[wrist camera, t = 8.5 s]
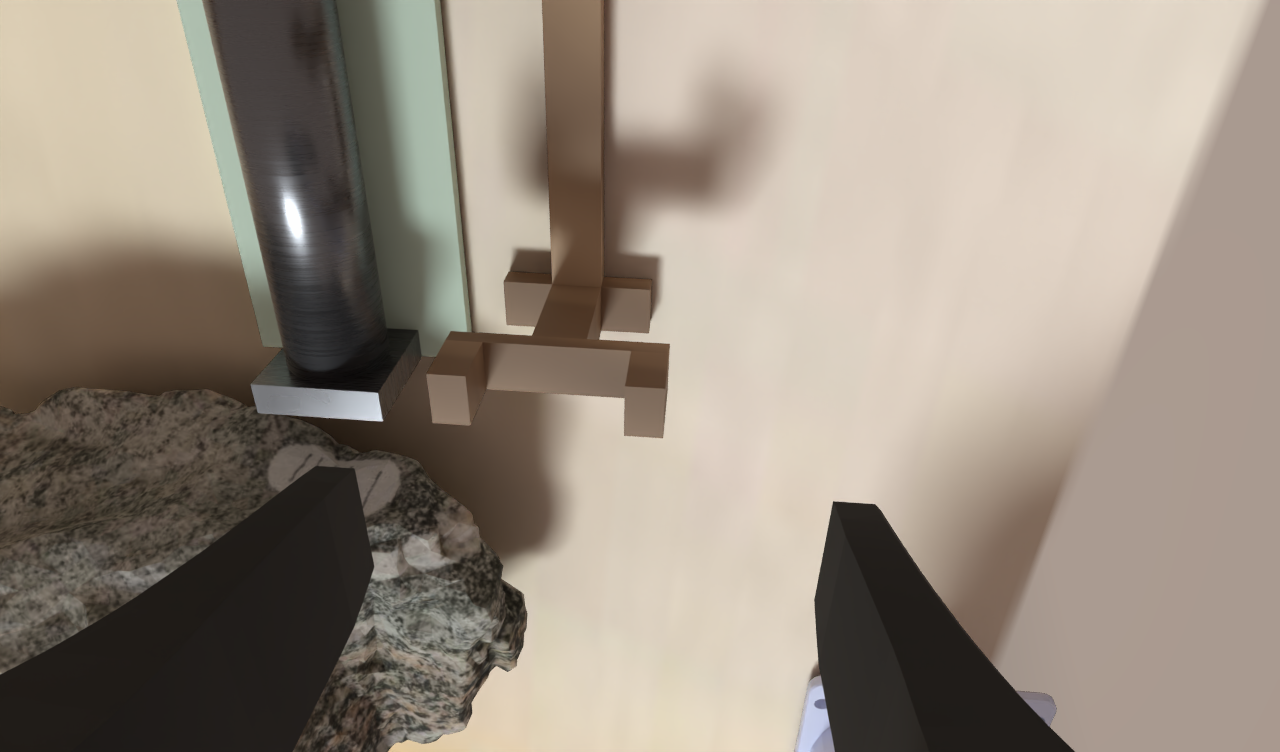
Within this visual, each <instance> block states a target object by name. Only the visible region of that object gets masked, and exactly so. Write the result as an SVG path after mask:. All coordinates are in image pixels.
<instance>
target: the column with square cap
mask: <svg viewBox="0 0 1280 752" xmlns="http://www.w3.org/2000/svg"><path fill="white" fill-rule="evenodd" d="M202 3H203V7H204V11H205V16H206V20H207V24H208V29H209V33H210V37H211V41H212V46H213V50H214V54H215V59H216V63H217V67H218V71H219V76H220V80H221V84H222V89H223V93H224V97H225V101H226V106H227V110H228V114H229V119H230V123H231V127H232V131H233V136H234V140H235V144H236V149H237V153H238V157H239V162H240V166H241V170H242V174H243V179H244V183H245V187H246V192H247V196H248V200H249V204H250V209H251V213H252V217H253V222H254V226H255V230H256V234H257V239H258V243H259V247H260V252H261V256H262V260H263V264H264V269H265V273H266V277H267V282H268V286H269V290H270V294H271V299H272V303H273V307H274V312H275V316H276V320H277V325H278V329H279V333H280V337H281V342H282V346H283V349H282V350H281V351H280V352H279V353H278V354H277V355H276V356H275V358H274V359H273V360H272V361H271V362H270V363H269V364H268V365H267V366H266V368H265V369H264V370H263V371H262V372H261V373H260V374H259V375H258V376H257V378H256V379H255V380H254V381H253V382H252V383H251V384H250V385H251V389H252V393H253V396H254V400H255V404H256V408H257V412H258V413H264V414H279V415H293V416H308V417H323V418H338V419H353V420H367V421H382V422H383V421H384V419H385V417H386V416H387V414H388V412H389V411H390V409H391V407H392V406H393V404H394V402H395V401H396V399H397V397H398V396H399V394H400V392H401V391H402V389H403V387H404V386H405V384H406V382H407V381H408V379H409V377H410V376H411V374H412V372H413V371H414V369H415V367H416V366H417V364H418V362H419V361H420V359H421V357H422V354H421V347H420V339H419V332H418V330H409V329H392V328H387V326H386V320H385V314H384V307H383V301H382V294H381V288H380V281H379V275H378V268H377V262H376V255H375V249H374V242H373V236H372V229H371V223H370V216H369V210H368V203H367V197H366V191H365V184H364V178H363V171H362V165H361V158H360V152H359V145H358V139H357V132H356V126H355V119H354V113H353V106H352V100H351V93H350V87H349V81H348V74H347V68H346V61H345V55H344V48H343V42H342V35H341V29H340V22H339V16H338V9H337V3H336V0H202Z"/></svg>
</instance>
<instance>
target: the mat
mask: <svg viewBox="0 0 1280 752" xmlns="http://www.w3.org/2000/svg"><path fill="white" fill-rule="evenodd" d="M336 3H337V9H338V16H339V22H340V29H341V35H342V42H343V48H344V55H345V61H346V68H347V74H348V81H349V87H350V93H351V100H352V106H353V113H354V119H355V126H356V132H357V139H358V145H359V152H360V158H361V165H362V171H363V178H364V184H365V191H366V197H367V203H368V210H369V216H370V223H371V229H372V236H373V242H374V249H375V255H376V262H377V268H378V275H379V281H380V288H381V294H382V301H383V307H384V314H385V320H386V326H387V328H392V329H409V330H418V332H419V339H420V347H421V354H422V356H426V357H436V356H437V354H438V352H439V350H440V349H441V347H442V345H443V343H444V342H445V340H446V338H447V336H448V335H449V333H450V331H459V332H472V329H471V319H470V308H469V298H468V287H467V277H466V266H465V256H464V245H463V235H462V224H461V214H460V204H459V193H458V183H457V172H456V162H455V151H454V141H453V130H452V120H451V109H450V99H449V89H448V78H447V68H446V57H445V47H444V36H443V26H442V15H441V5H440V0H336ZM177 4H178V8H179V12H180V16H181V20H182V24H183V28H184V32H185V36H186V40H187V44H188V48H189V52H190V56H191V60H192V64H193V68H194V72H195V76H196V80H197V84H198V88H199V92H200V96H201V100H202V104H203V108H204V112H205V116H206V120H207V124H208V128H209V132H210V136H211V140H212V144H213V148H214V152H215V156H216V160H217V164H218V168H219V172H220V176H221V180H222V184H223V188H224V192H225V196H226V200H227V204H228V208H229V212H230V216H231V220H232V224H233V228H234V232H235V236H236V240H237V244H238V248H239V252H240V256H241V260H242V264H243V268H244V272H245V276H246V280H247V284H248V288H249V292H250V296H251V300H252V304H253V308H254V312H255V316H256V320H257V324H258V328H259V332H260V336H261V340H262V344H263V347H279V348H283V346H282V342H281V337H280V333H279V329H278V325H277V320H276V316H275V312H274V307H273V303H272V299H271V294H270V290H269V286H268V282H267V277H266V273H265V269H264V264H263V260H262V256H261V252H260V247H259V243H258V239H257V234H256V230H255V226H254V222H253V217H252V213H251V209H250V204H249V200H248V196H247V192H246V187H245V183H244V179H243V174H242V170H241V166H240V162H239V157H238V153H237V149H236V144H235V140H234V136H233V131H232V127H231V123H230V119H229V114H228V110H227V106H226V101H225V97H224V93H223V89H222V84H221V80H220V76H219V71H218V67H217V63H216V59H215V54H214V50H213V46H212V41H211V37H210V33H209V29H208V24H207V20H206V16H205V11H204V7H203V3H202V0H177Z"/></svg>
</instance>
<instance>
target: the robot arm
mask: <svg viewBox="0 0 1280 752" xmlns="http://www.w3.org/2000/svg"><path fill="white" fill-rule="evenodd" d="M373 570H374V562H373V557H372V552H371V547H370V542H369V537H368V532H367V527H366V522H365V517H364V512H363V507H362V502H361V497H360V492H359V487H358V482H357V477H356V472H355V468H341V467H327V466H315V467H313V468H312V469H311V470H309V471H308V472H306V473H305V474H304V475H302V476H301V477H300V478H298V479H297V480H296V481H294V482H293V483H292V484H290V485H289V486H288V487H286V488H285V489H284V490H282V491H281V492H280V493H278V494H277V495H276V496H275V497H273V498H272V499H271V500H269V501H268V502H267V503H265V504H264V505H263V506H262V507H260V508H259V509H258V510H256V511H255V512H254V513H252V514H251V515H250V516H249V517H247V518H246V519H245V520H243V521H242V522H241V523H239V524H238V525H237V526H235V527H234V528H233V529H231V530H230V531H229V532H227V533H226V534H225V535H223V536H222V537H221V538H219V539H218V540H217V541H215V542H214V543H213V544H211V545H210V546H209V547H207V548H206V549H204V550H203V551H202V552H200V553H199V554H198V555H196V556H195V557H193V558H192V559H190V560H189V561H187V562H186V563H184V564H183V565H182V566H180V567H179V568H177V569H176V570H174V571H173V572H171V573H170V574H169V575H167V576H166V577H164V578H163V579H161V580H160V581H158V582H157V583H155V584H154V585H153V586H151V587H150V588H148V589H147V590H145V591H144V592H142V593H141V594H139V595H138V596H137V597H135V598H133V599H132V600H130V601H129V602H127V603H126V604H124V605H123V606H121V607H119V608H118V609H116V610H115V611H113V612H111V613H110V614H108V615H106V616H105V617H103V618H102V619H100V620H98V621H97V622H95V623H93V624H91V625H90V626H88V627H86V628H85V629H83V630H81V631H80V632H78V633H76V634H74V635H73V636H71V637H69V638H68V639H66V640H64V641H63V642H61V643H59V644H57V645H55V646H54V647H52V648H50V649H48V650H46V651H45V652H43V653H41V654H39V655H37V656H35V657H33V658H31V659H29V660H27V661H25V662H23V663H22V664H20V665H18V666H16V667H14V668H12V669H10V670H8V671H6V672H4V673H2V674H0V752H293V750H294V748H295V746H296V744H297V742H298V740H299V738H300V736H301V734H302V732H303V730H304V728H305V726H306V724H307V722H308V720H309V718H310V716H311V714H312V712H313V710H314V708H315V706H316V704H317V702H318V700H319V698H320V696H321V694H322V692H323V690H324V688H325V686H326V684H327V682H328V680H329V678H330V676H331V674H332V672H333V670H334V668H335V666H336V664H337V662H338V660H339V658H340V656H341V654H342V651H343V649H344V647H345V645H346V643H347V641H348V639H349V637H350V635H351V633H352V631H353V629H354V626H355V623H356V620H357V618H358V615H359V612H360V609H361V606H362V604H363V601H364V598H365V595H366V592H367V589H368V586H369V582H370V579H371V576H372V573H373ZM814 601H815V618H816V634H817V648H818V661H819V669H820V674H821V676H817V677H814V678H813V679H811V680H810V681H809V683H808V687H807V692H806V697H805V702H804V707H803V712H802V717H801V722H800V727H799V732H798V737H797V742H796V747H795V752H1074V750H1073V749H1071V748H1070V747H1069V746H1068V745H1067V744H1066V743H1065V742H1064V741H1063V740H1062V739H1061V738H1060V737H1059V736H1058V735H1057V734H1056V733H1055V732H1054V731H1053V730H1052V729H1051V728H1050V725H1051V722H1052V720H1053V718H1054V716H1055V714H1056V709H1057V708H1056V705H1055V703H1054V700H1053V699H1052V697H1051V696H1049V695H1047V694H1044V693H1037V692H1025V691H1015V690H1014V689H1013V687H1012V686H1011V685H1010V684H1009V683H1008V682H1007V681H1006V680H1005V679H1004V677H1003V676H1002V675H1001V674H1000V673H999V671H998V670H997V669H996V668H995V667H994V666H993V664H992V663H991V662H990V661H989V660H988V658H987V657H986V656H985V655H984V654H983V652H982V651H981V650H980V649H979V648H978V646H977V645H976V644H975V643H974V642H973V640H972V639H971V638H970V636H969V635H968V634H967V633H966V631H965V630H964V629H963V628H962V626H961V625H960V624H959V623H958V621H957V620H956V619H955V617H954V616H953V615H952V613H951V612H950V611H949V609H948V608H947V606H946V605H945V604H944V602H943V601H942V600H941V598H940V597H939V596H938V594H937V593H936V592H935V590H934V589H933V588H932V586H931V585H930V584H929V582H928V581H927V579H926V578H925V576H924V575H923V574H922V572H921V571H920V569H919V568H918V566H917V565H916V563H915V562H914V561H913V559H912V558H911V556H910V555H909V553H908V552H907V550H906V549H905V547H904V546H903V544H902V543H901V541H900V540H899V538H898V537H897V535H896V533H895V532H894V530H893V529H892V527H891V526H890V524H889V523H888V521H887V519H886V518H885V516H884V515H883V513H882V512H881V510H880V509H879V508H878V507H877V506H876V505H875V504H863V503H848V502H834V501H833V505H832V511H831V516H830V521H829V526H828V532H827V537H826V542H825V547H824V553H823V558H822V563H821V568H820V574H819V579H818V584H817V589H816V595H815V600H814Z"/></svg>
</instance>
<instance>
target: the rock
mask: <svg viewBox="0 0 1280 752" xmlns="http://www.w3.org/2000/svg"><path fill="white" fill-rule="evenodd" d="M315 466H327V467H341V468H355V472H356V477H357V482H358V487H359V492H360V497H361V502H362V507H363V512H364V517H365V522H366V527H367V532H368V537H369V542H370V547H371V552H372V557H373V562H374V570H373V573H372V576H371V579H370V582H369V586H368V589H367V592H366V595H365V598H364V601H363V604H362V606H361V609H360V612H359V615H358V618H357V620H356V623H355V626H354V629H353V631H352V633H351V635H350V637H349V639H348V641H347V643H346V645H345V647H344V649H343V651H342V654H341V656H340V658H339V660H338V662H337V664H336V666H335V668H334V670H333V672H332V674H331V676H330V678H329V680H328V682H327V684H326V686H325V688H324V690H323V692H322V694H321V696H320V698H319V700H318V702H317V704H316V706H315V708H314V710H313V712H312V714H311V716H310V718H309V720H308V722H307V724H306V726H305V728H304V730H303V732H302V734H301V736H300V738H299V740H298V742H297V744H296V746H295V748H294V750H293V752H388V751H389V749H390V748H391V747H392V746H393V745H394V744H395V743H397V742H400V743H402V742H404V741H406V740H411V741H414V742H418V743H421V744H425V743H431V742H434V741H436V740H438V739H439V738H440V737H441V736H442V735H443V734H452V733H456V732H460V731H462V730H464V729H465V728H466V726H467V724H468V721H469V719H470V717H471V715H472V705H471V702H472V701H473V699H474V697H475V696H476V694H477V692H478V691H479V689H480V688H481V686H482V685H483V684H484V682H485V681H486V679H487V678H488V675H489V673H490V671H491V670H492V669H493V668H494V667H495V666H498V667H500V668H502V669H503V670H505V671H507V672H508V671H510V670H511V669H513V668H514V667H516V666H517V659H518V657H519V654H520V652H521V650H522V648H523V643H524V632H525V630H526V626H527V611H526V607H525V601H524V594H523V593H522V592H520V591H519V590H517V589H516V588H514V587H513V586H511V585H510V584H508V583H507V582H505V581H504V580H502V579H501V576H502V569H503V565H502V564H501V563H500V560H499V557H498V556H497V554H496V553H495V552H494V551H493V550H492V549H491V548H490V547H489V545H488V544H486V543H485V542H484V541H483V540H482V539H481V537H480V536H479V527H478V526H477V525H475V524H474V522H473V515H472V513H471V512H470V511H469V510H468V509H467V508H466V507H464V506H463V505H462V504H461V503H459V502H458V501H457V500H455V499H454V498H453V497H451V496H450V495H449V494H447V493H446V492H445V491H444V490H442V489H441V488H440V487H439V486H438V485H437V484H435V483H434V482H433V481H432V480H431V479H429V477H428V475H427V474H426V472H425V470H424V469H423V467H422V465H421V464H420V463H419V462H418V461H417V460H415V459H412V458H409V457H406V456H403V455H399V454H394V453H389V452H384V451H379V450H372V451H369V452H365V453H361V452H358V451H356V450H355V449H353V448H351V447H350V446H348V445H343V444H338V443H337V442H336V441H335V440H334V439H333V438H332V437H331V436H330V435H329V434H327V433H326V432H324V431H323V430H321V429H320V428H318V427H316V426H314V425H312V424H309V423H307V422H305V421H303V420H299V419H295V418H291V417H287V416H284V415H279V414H264V413H258V412H257V408H256V406H252V407H248V406H246V405H244V404H243V403H241V402H239V401H237V400H235V399H233V398H230V397H227V396H225V395H222V394H220V393H217V392H214V391H212V390H209V389H201V390H174V391H169V392H164V393H162V394H161V395H160V396H154V395H147V394H141V393H135V392H129V391H119V390H106V389H87V388H80V387H73V388H69V389H65V390H61V391H58V392H57V393H55V394H54V395H52V396H51V397H49V398H47V399H46V400H44V401H43V402H42V403H41V404H40V405H39V406H38V407H37V409H36V410H35V411H33V412H29V413H26V414H15V413H14V412H13V411H12V410H11V409H8V408H4V407H1V406H0V674H2V673H4V672H6V671H8V670H10V669H12V668H14V667H16V666H18V665H20V664H22V663H23V662H25V661H27V660H29V659H31V658H33V657H35V656H37V655H39V654H41V653H43V652H45V651H46V650H48V649H50V648H52V647H54V646H55V645H57V644H59V643H61V642H63V641H64V640H66V639H68V638H69V637H71V636H73V635H74V634H76V633H78V632H80V631H81V630H83V629H85V628H86V627H88V626H90V625H91V624H93V623H95V622H97V621H98V620H100V619H102V618H103V617H105V616H106V615H108V614H110V613H111V612H113V611H115V610H116V609H118V608H119V607H121V606H123V605H124V604H126V603H127V602H129V601H130V600H132V599H133V598H135V597H137V596H138V595H139V594H141V593H142V592H144V591H145V590H147V589H148V588H150V587H151V586H153V585H154V584H155V583H157V582H158V581H160V580H161V579H163V578H164V577H166V576H167V575H169V574H170V573H171V572H173V571H174V570H176V569H177V568H179V567H180V566H182V565H183V564H184V563H186V562H187V561H189V560H190V559H192V558H193V557H195V556H196V555H198V554H199V553H200V552H202V551H203V550H204V549H206V548H207V547H209V546H210V545H211V544H213V543H214V542H215V541H217V540H218V539H219V538H221V537H222V536H223V535H225V534H226V533H227V532H229V531H230V530H231V529H233V528H234V527H235V526H237V525H238V524H239V523H241V522H242V521H243V520H245V519H246V518H247V517H249V516H250V515H251V514H252V513H254V512H255V511H256V510H258V509H259V508H260V507H262V506H263V505H264V504H265V503H267V502H268V501H269V500H271V499H272V498H273V497H275V496H276V495H277V494H278V493H280V492H281V491H282V490H284V489H285V488H286V487H288V486H289V485H290V484H292V483H293V482H294V481H296V480H297V479H298V478H300V477H301V476H302V475H304V474H305V473H306V472H308V471H309V470H311V469H312V468H313V467H315Z"/></svg>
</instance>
